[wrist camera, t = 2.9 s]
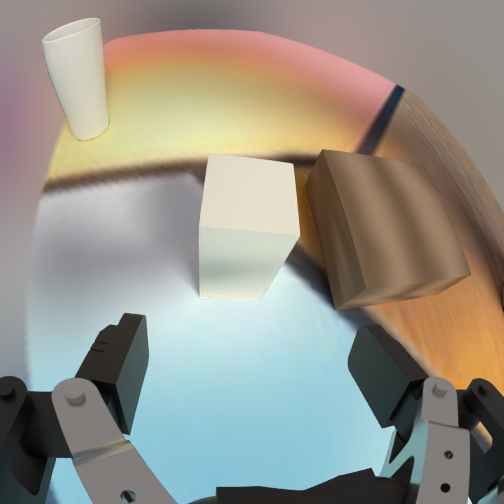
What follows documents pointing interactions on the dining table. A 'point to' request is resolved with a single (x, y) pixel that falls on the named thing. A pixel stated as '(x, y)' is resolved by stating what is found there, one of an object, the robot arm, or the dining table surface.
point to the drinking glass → (79, 75)
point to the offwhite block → (245, 226)
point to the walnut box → (382, 230)
